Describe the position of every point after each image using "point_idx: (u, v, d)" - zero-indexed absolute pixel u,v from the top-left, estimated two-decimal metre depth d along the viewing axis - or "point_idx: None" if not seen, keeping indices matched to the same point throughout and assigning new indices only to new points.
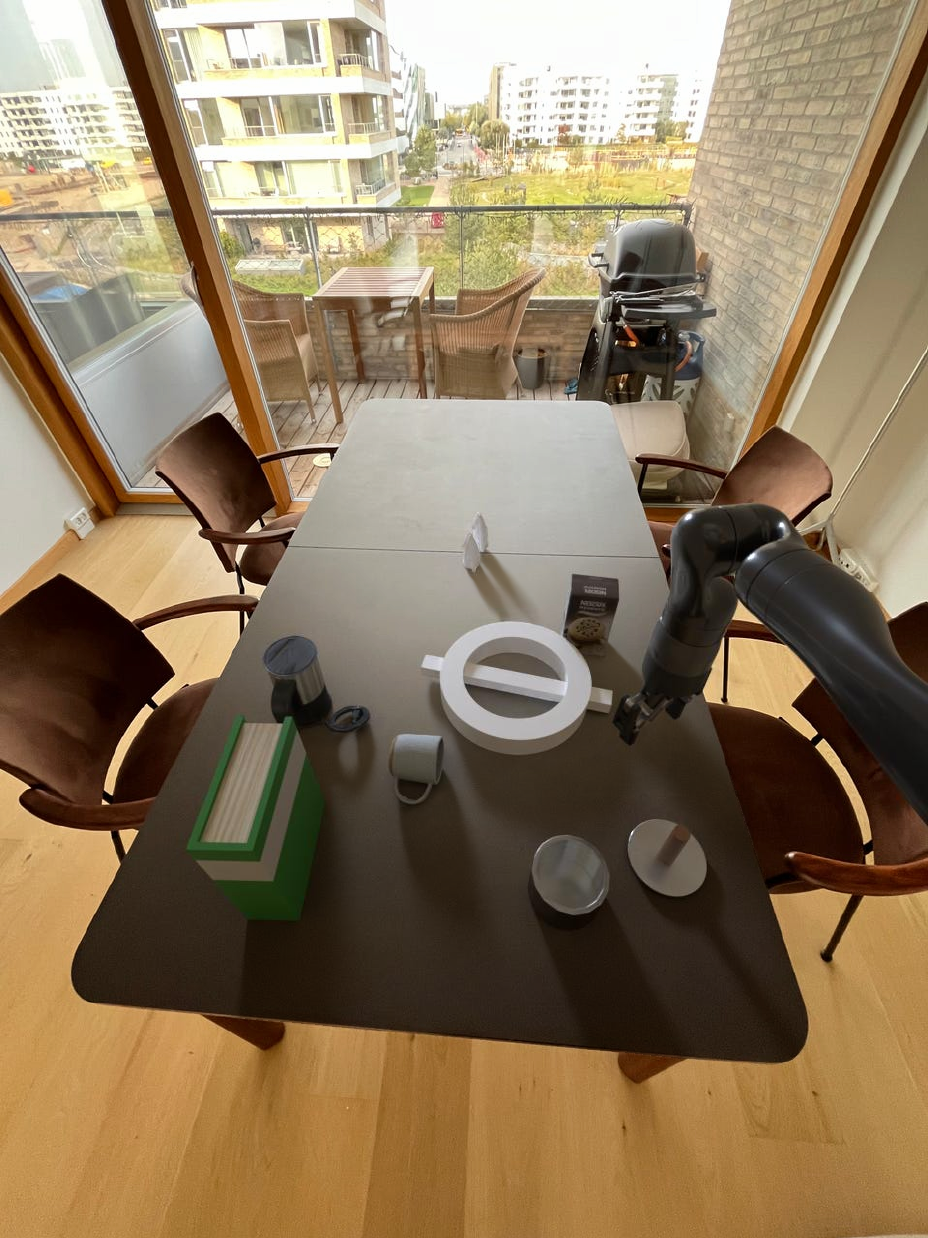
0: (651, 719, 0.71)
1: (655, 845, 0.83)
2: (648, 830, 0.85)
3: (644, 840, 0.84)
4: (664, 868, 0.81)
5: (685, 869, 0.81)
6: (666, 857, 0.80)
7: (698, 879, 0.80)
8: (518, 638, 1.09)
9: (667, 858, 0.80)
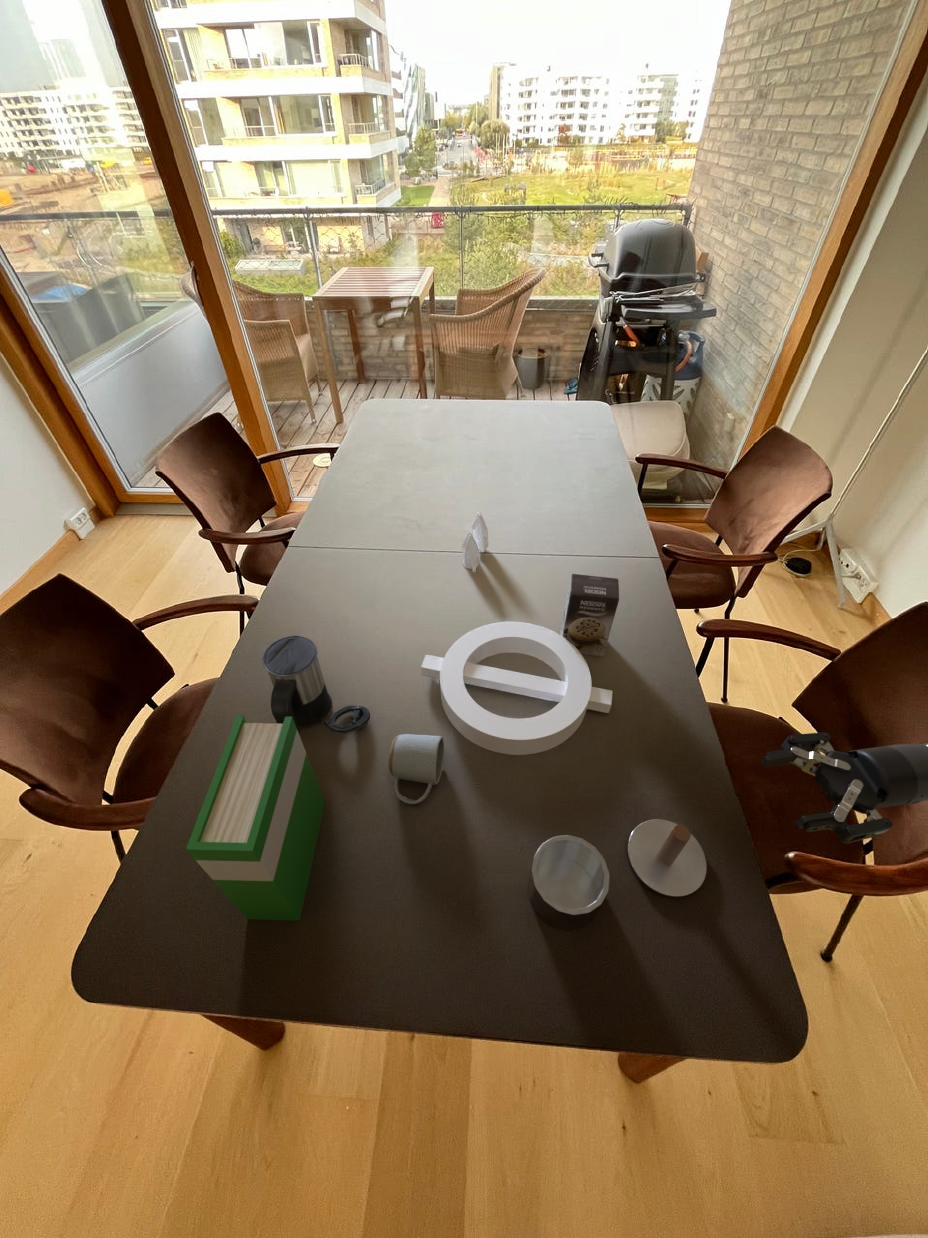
0: (817, 755, 0.73)
1: (655, 845, 0.83)
2: (648, 830, 0.85)
3: (644, 840, 0.84)
4: (664, 868, 0.81)
5: (685, 869, 0.81)
6: (666, 857, 0.80)
7: (698, 879, 0.80)
8: (518, 638, 1.09)
9: (667, 858, 0.80)
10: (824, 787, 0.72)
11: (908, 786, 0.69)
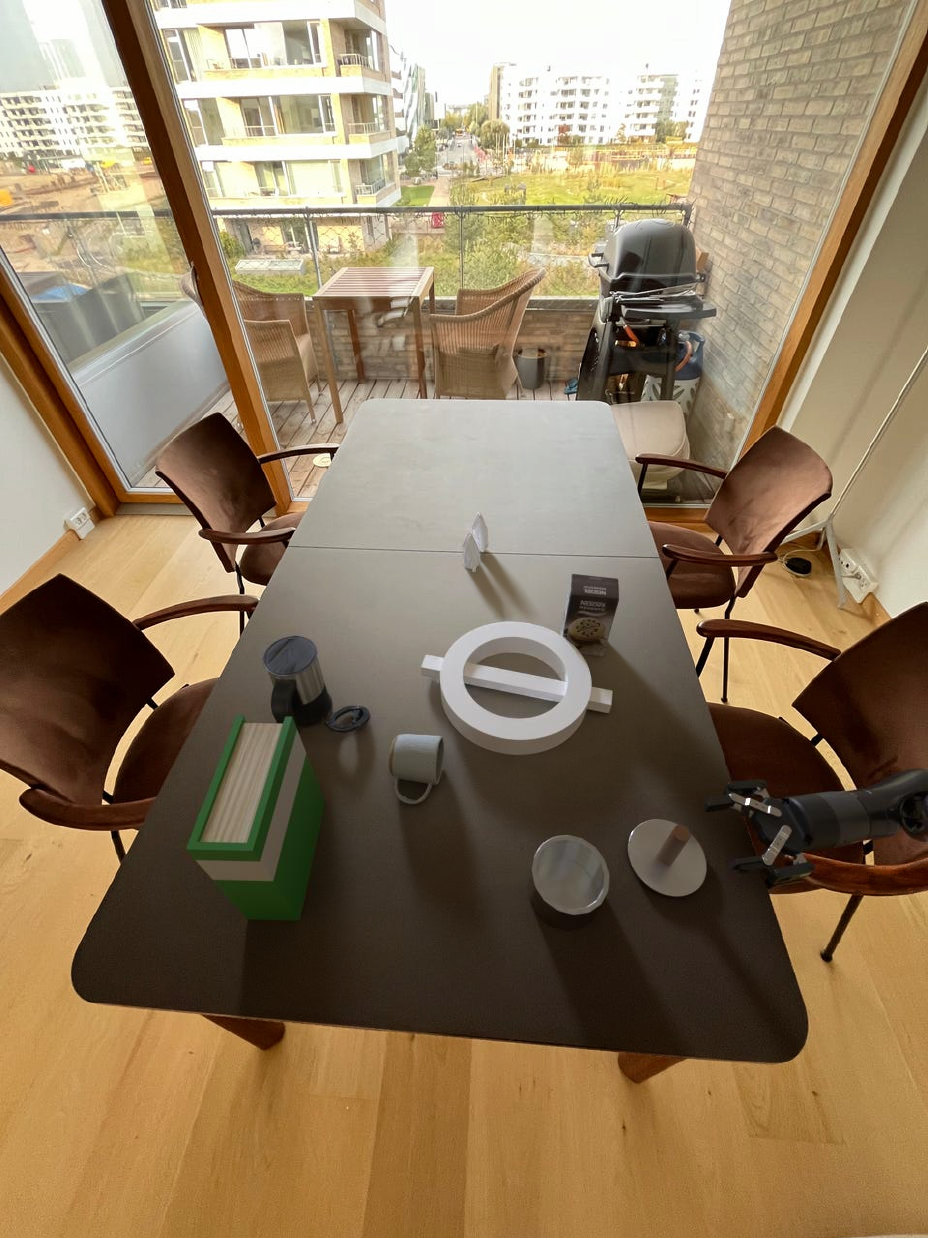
0: (752, 802, 0.81)
1: (655, 845, 0.83)
2: (648, 830, 0.85)
3: (644, 840, 0.84)
4: (664, 868, 0.81)
5: (685, 869, 0.81)
6: (666, 857, 0.80)
7: (698, 879, 0.80)
8: (518, 638, 1.09)
9: (667, 858, 0.80)
10: (758, 831, 0.80)
11: (831, 832, 0.77)
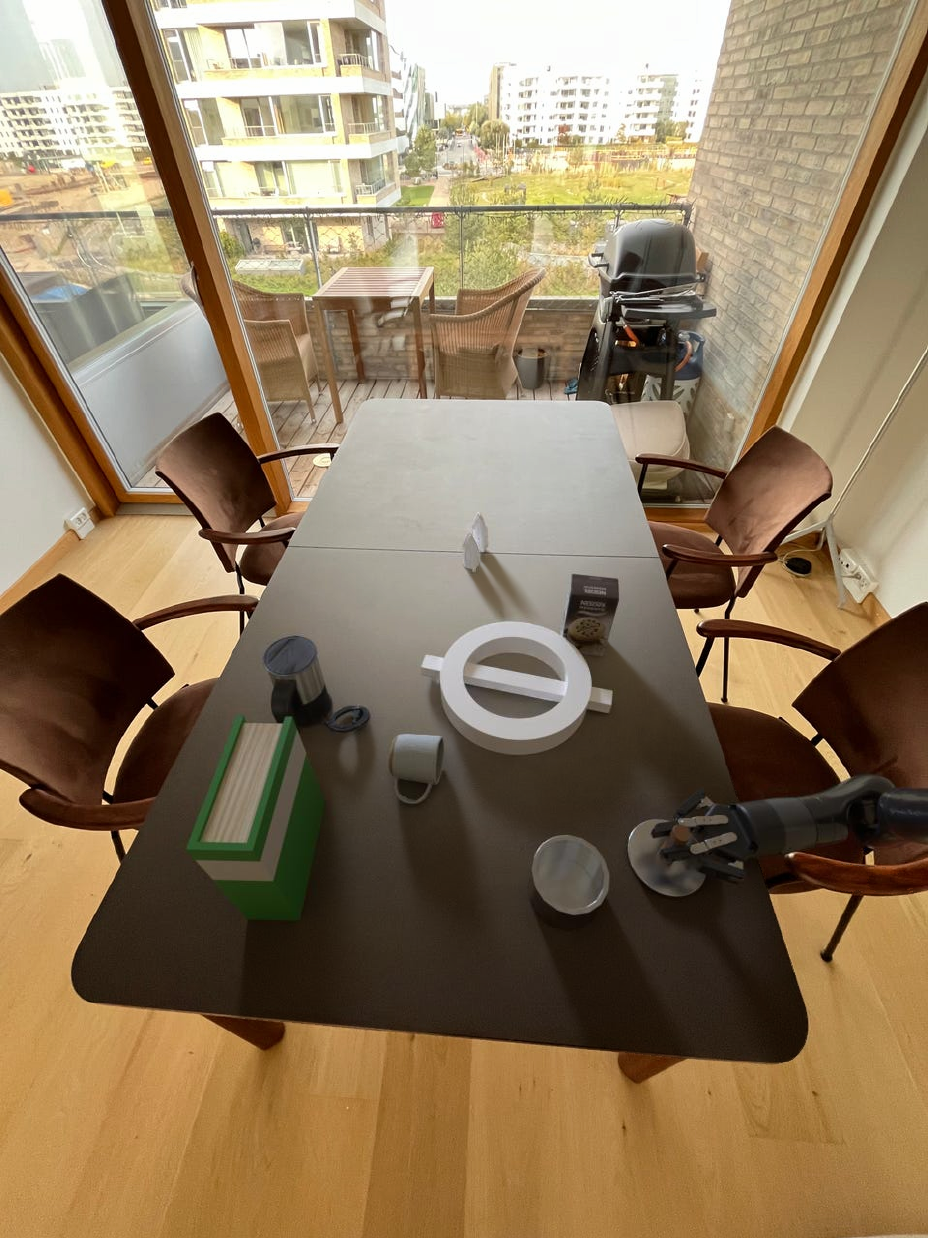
0: (700, 819, 0.79)
1: (655, 845, 0.83)
2: (648, 830, 0.85)
3: (644, 840, 0.84)
4: (664, 868, 0.81)
5: (685, 869, 0.81)
6: None
7: (698, 879, 0.80)
8: (518, 638, 1.09)
9: None
10: (705, 838, 0.79)
11: (776, 840, 0.76)
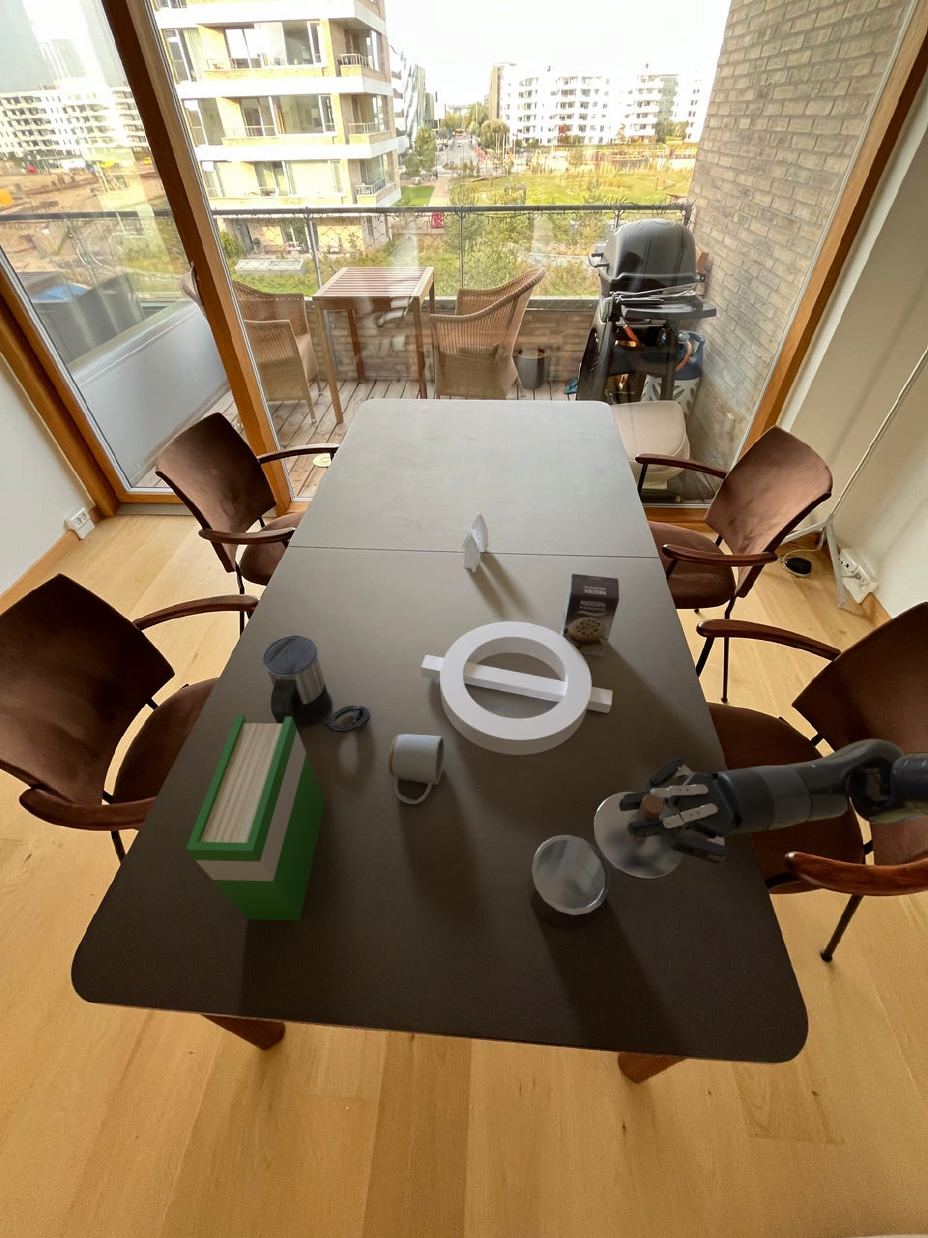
0: (675, 789, 0.68)
1: (625, 820, 0.72)
2: (618, 804, 0.74)
3: (613, 815, 0.73)
4: (635, 846, 0.70)
5: (659, 847, 0.70)
6: None
7: (674, 859, 0.69)
8: (518, 638, 1.09)
9: None
10: (681, 811, 0.68)
11: (764, 812, 0.65)
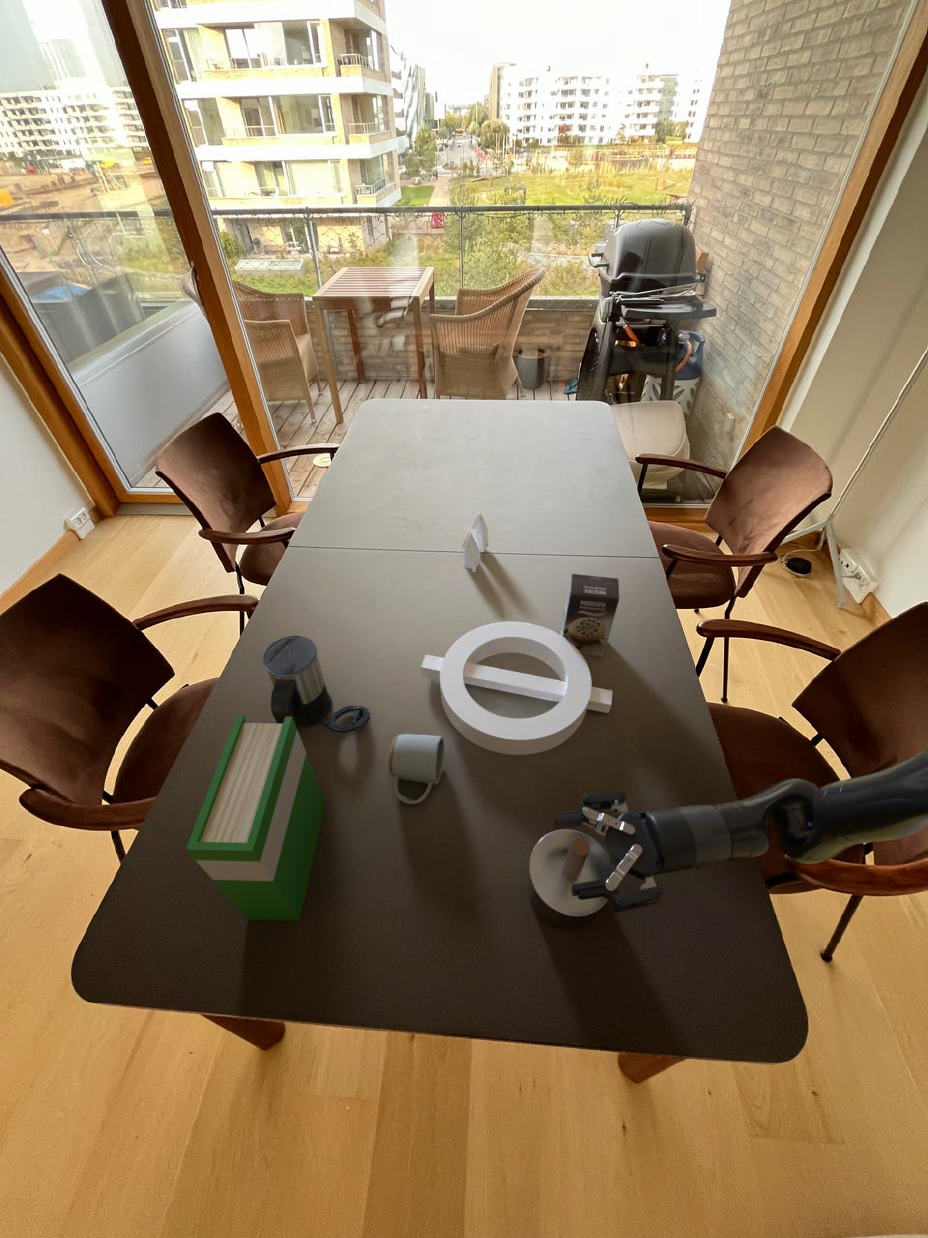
0: (605, 817, 0.72)
1: (560, 858, 0.76)
2: (554, 842, 0.77)
3: (548, 853, 0.76)
4: (567, 884, 0.73)
5: None
6: (568, 872, 0.73)
7: (603, 897, 0.72)
8: (518, 638, 1.09)
9: (570, 874, 0.73)
10: (610, 851, 0.71)
11: (686, 853, 0.68)
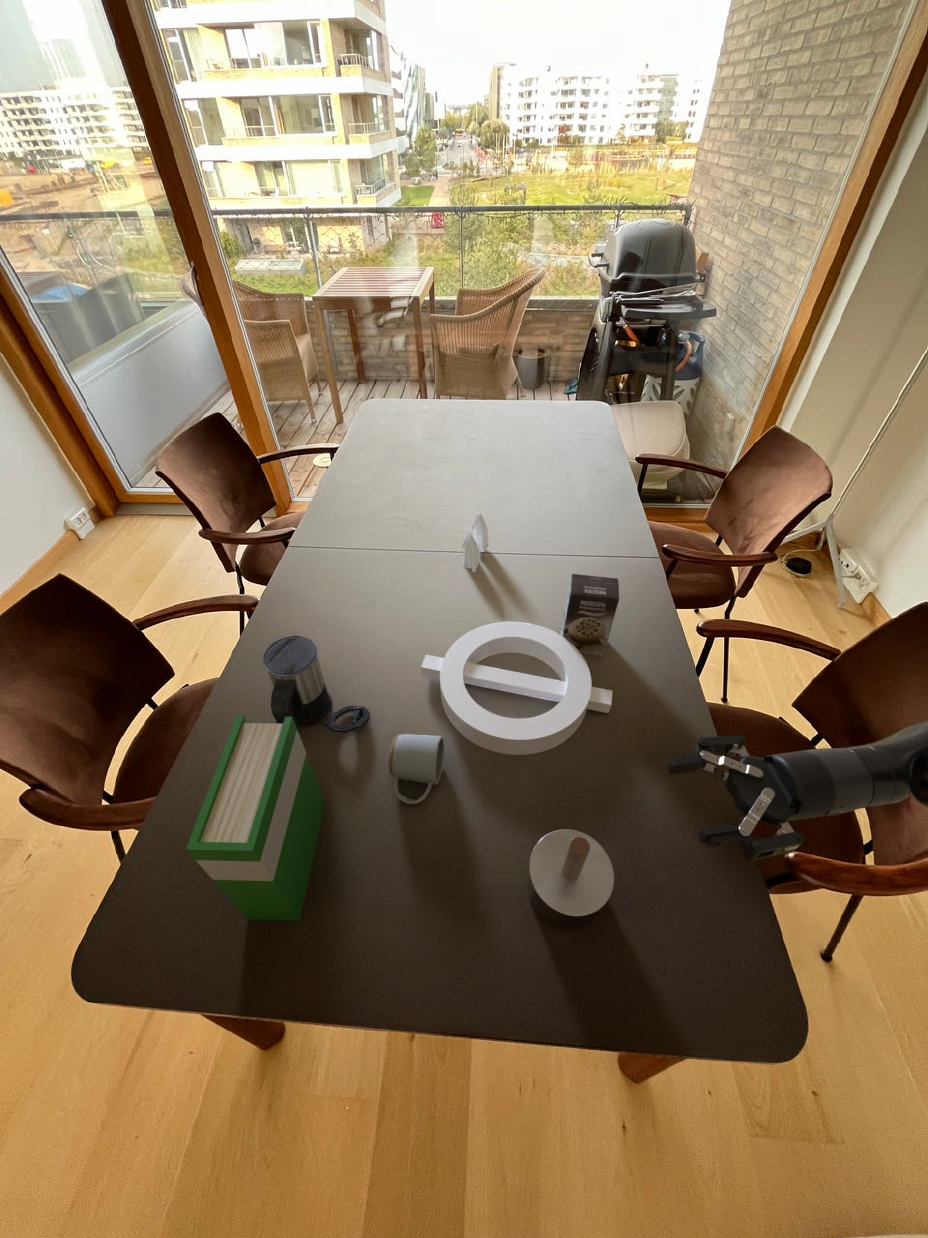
0: (728, 760, 0.65)
1: (560, 858, 0.76)
2: (554, 842, 0.77)
3: (548, 853, 0.76)
4: (567, 884, 0.73)
5: (590, 885, 0.73)
6: (568, 872, 0.73)
7: (603, 897, 0.72)
8: (518, 638, 1.09)
9: (570, 874, 0.73)
10: (734, 796, 0.65)
11: (824, 796, 0.61)
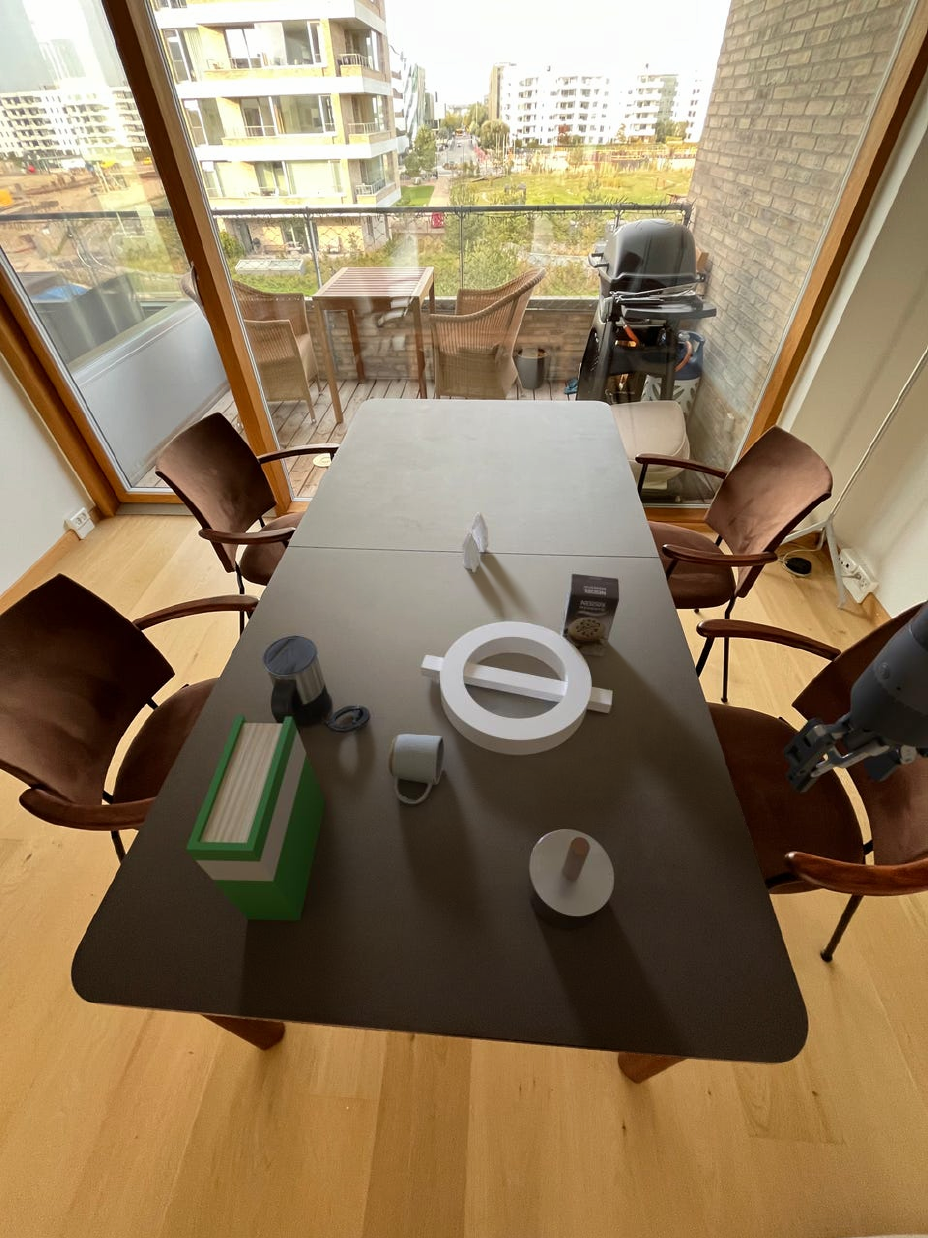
0: (844, 765, 0.50)
1: (560, 858, 0.76)
2: (554, 842, 0.77)
3: (548, 853, 0.76)
4: (567, 884, 0.73)
5: (590, 885, 0.73)
6: (568, 872, 0.73)
7: (603, 897, 0.72)
8: (518, 638, 1.09)
9: (570, 874, 0.73)
10: None
11: None
